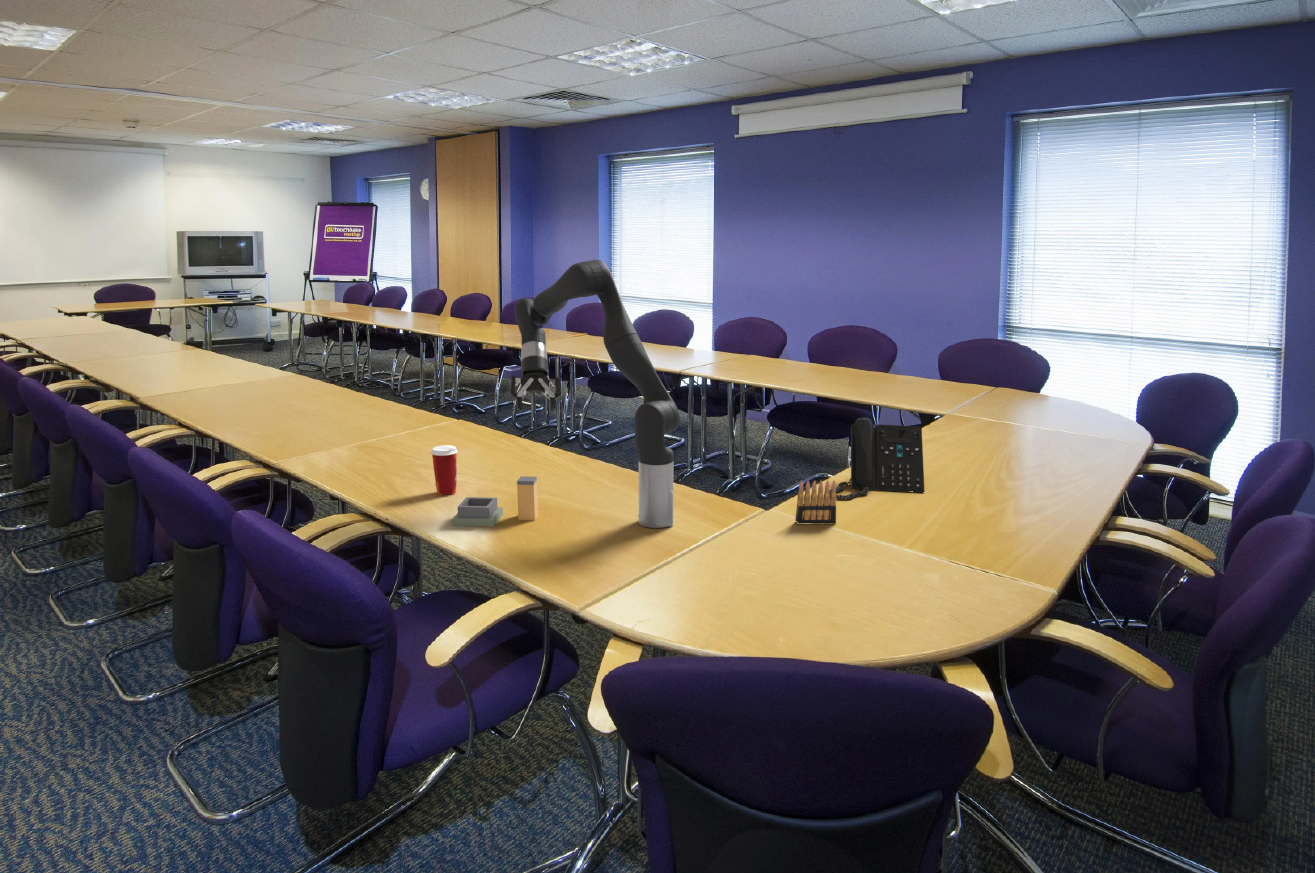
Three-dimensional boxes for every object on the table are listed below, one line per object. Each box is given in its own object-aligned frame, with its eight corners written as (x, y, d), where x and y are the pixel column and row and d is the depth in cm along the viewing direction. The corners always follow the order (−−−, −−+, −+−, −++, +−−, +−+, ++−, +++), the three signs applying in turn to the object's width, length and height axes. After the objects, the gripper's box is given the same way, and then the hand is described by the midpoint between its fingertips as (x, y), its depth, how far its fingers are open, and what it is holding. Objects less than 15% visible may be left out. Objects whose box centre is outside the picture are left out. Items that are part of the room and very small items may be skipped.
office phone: (827, 500, 237) (831, 433, 232) (823, 474, 264) (826, 414, 259) (930, 505, 232) (936, 438, 228) (915, 478, 260) (920, 417, 255)
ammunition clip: (834, 521, 218) (836, 479, 215) (836, 523, 216) (838, 481, 213) (795, 522, 218) (797, 479, 215) (796, 524, 216) (798, 481, 213)
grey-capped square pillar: (538, 514, 222) (536, 476, 219) (534, 520, 218) (533, 481, 215) (522, 514, 222) (520, 476, 220) (518, 519, 218) (517, 481, 215)
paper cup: (465, 492, 242) (462, 446, 239) (446, 498, 236) (443, 452, 232) (447, 487, 246) (444, 443, 243) (427, 494, 240) (424, 448, 236)
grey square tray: (503, 514, 222) (502, 497, 221) (493, 526, 213) (493, 508, 211) (463, 513, 223) (462, 496, 222) (452, 525, 213) (451, 507, 212)
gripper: (510, 353, 228) (511, 405, 222) (560, 355, 232) (563, 406, 226) (508, 366, 235) (509, 416, 229) (557, 367, 239) (559, 417, 232)
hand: (536, 411), depth 227 cm, fingers open, 8 cm apart
